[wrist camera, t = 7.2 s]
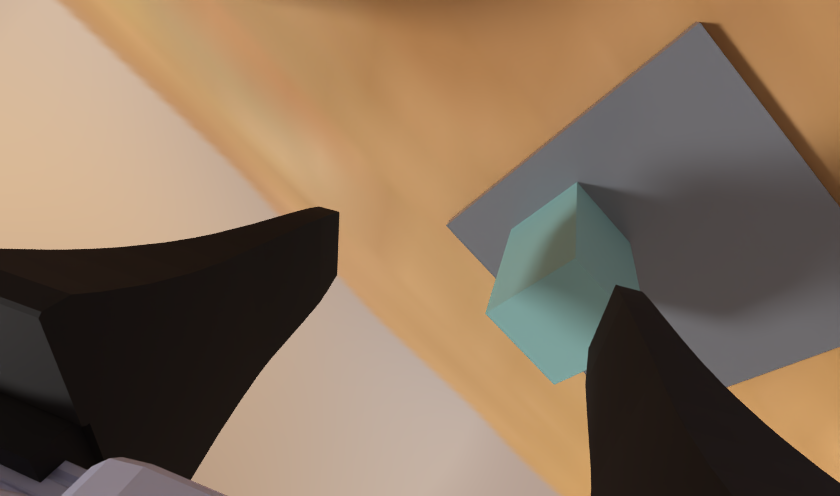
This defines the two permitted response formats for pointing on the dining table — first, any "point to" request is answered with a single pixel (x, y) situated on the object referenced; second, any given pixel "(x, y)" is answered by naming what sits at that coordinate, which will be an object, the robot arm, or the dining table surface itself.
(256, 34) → the dining table surface
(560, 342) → the teal block
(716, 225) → the slate board
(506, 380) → the dining table surface
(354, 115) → the dining table surface
